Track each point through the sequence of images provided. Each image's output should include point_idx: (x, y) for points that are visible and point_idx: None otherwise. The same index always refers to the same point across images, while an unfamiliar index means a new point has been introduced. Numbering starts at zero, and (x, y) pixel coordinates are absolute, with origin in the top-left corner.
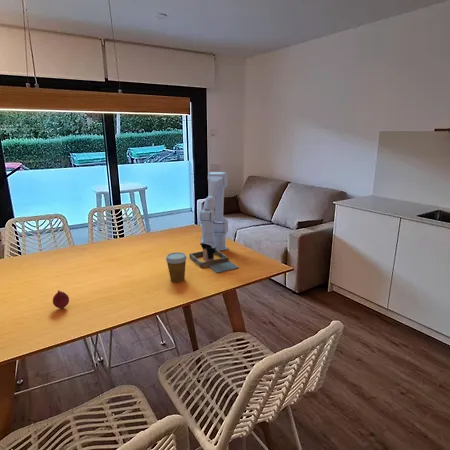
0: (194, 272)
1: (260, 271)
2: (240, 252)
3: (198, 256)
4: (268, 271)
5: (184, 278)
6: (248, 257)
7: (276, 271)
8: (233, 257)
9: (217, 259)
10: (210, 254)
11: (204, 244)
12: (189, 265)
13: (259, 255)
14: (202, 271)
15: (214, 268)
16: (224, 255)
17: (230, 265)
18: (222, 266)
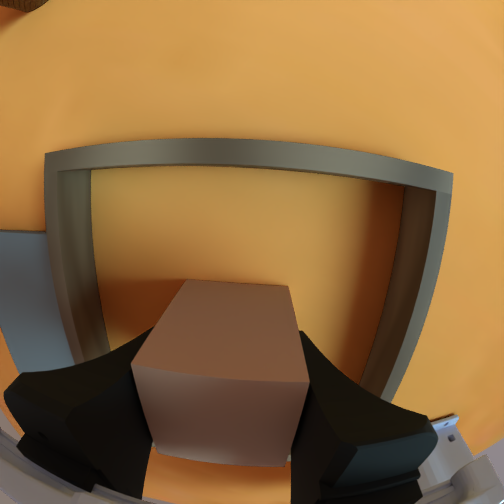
0: (47, 74)
1: (3, 396)
2: (242, 494)
3: (392, 278)
4: (6, 409)
5: (24, 10)
6: (152, 480)
7: (9, 420)
8: None
9: (76, 357)
10: None
11: (320, 478)
12: (208, 60)
13: (159, 499)
14: (27, 141)
15: (13, 249)
16: (153, 442)
17: (39, 366)
18: (30, 319)
